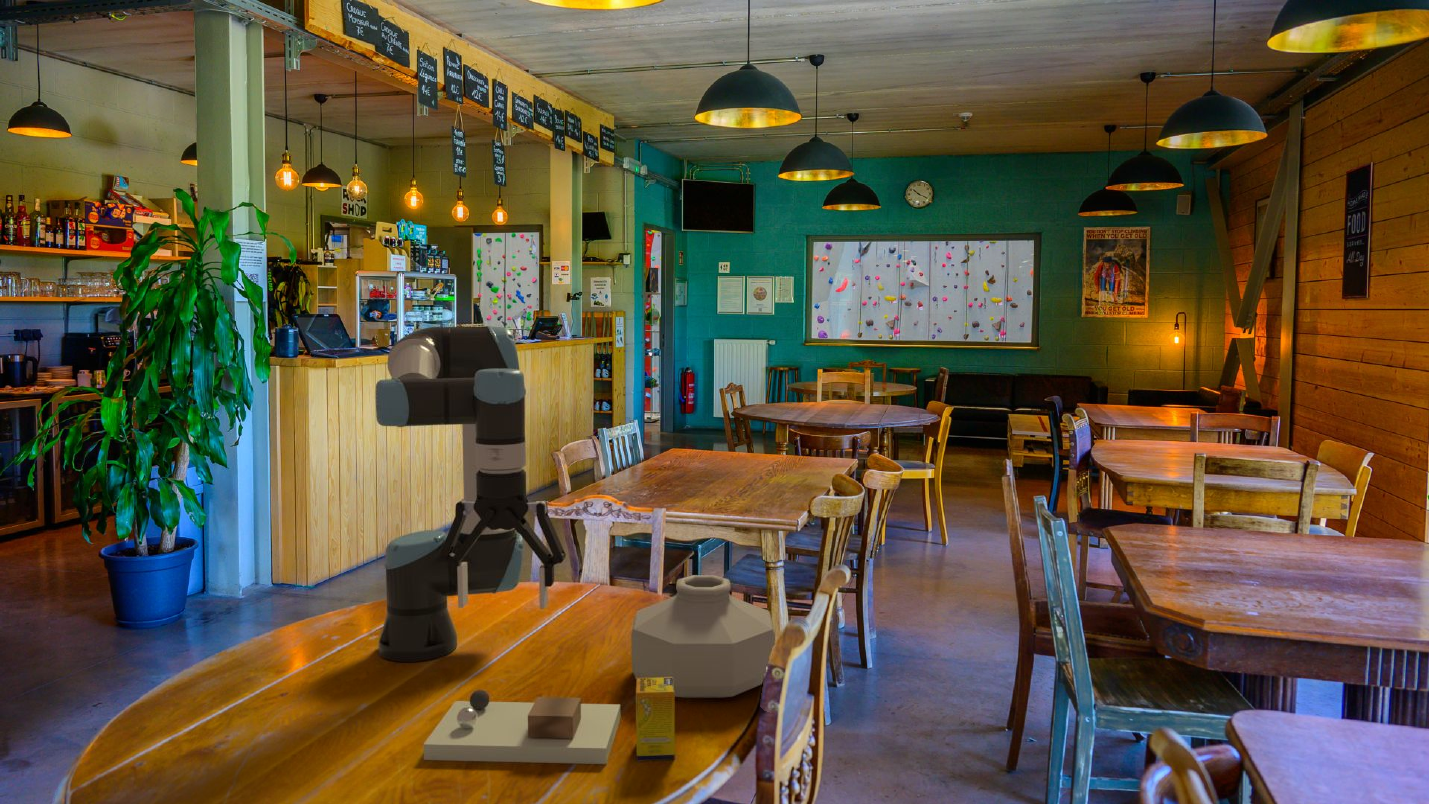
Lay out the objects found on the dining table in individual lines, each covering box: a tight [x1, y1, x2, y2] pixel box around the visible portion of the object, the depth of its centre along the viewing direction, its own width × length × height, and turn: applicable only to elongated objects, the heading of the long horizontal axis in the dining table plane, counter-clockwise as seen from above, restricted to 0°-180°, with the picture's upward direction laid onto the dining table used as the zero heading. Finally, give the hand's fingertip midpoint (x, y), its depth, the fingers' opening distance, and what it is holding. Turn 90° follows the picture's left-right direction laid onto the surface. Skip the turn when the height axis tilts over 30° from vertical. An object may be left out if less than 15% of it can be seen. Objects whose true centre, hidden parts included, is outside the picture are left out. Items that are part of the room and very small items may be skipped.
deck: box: [423, 700, 621, 765], centre depth 154 cm, size 28×16×2 cm, turn 88°
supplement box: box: [635, 677, 676, 762], centre depth 150 cm, size 6×6×11 cm
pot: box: [630, 574, 776, 699], centre depth 179 cm, size 28×28×19 cm
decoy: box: [469, 689, 490, 710], centre depth 159 cm, size 3×3×3 cm
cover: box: [528, 696, 582, 738], centre depth 152 cm, size 7×7×4 cm
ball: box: [457, 707, 478, 729], centre depth 152 cm, size 3×3×3 cm
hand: (503, 605), depth 150 cm, fingers open, 12 cm apart
